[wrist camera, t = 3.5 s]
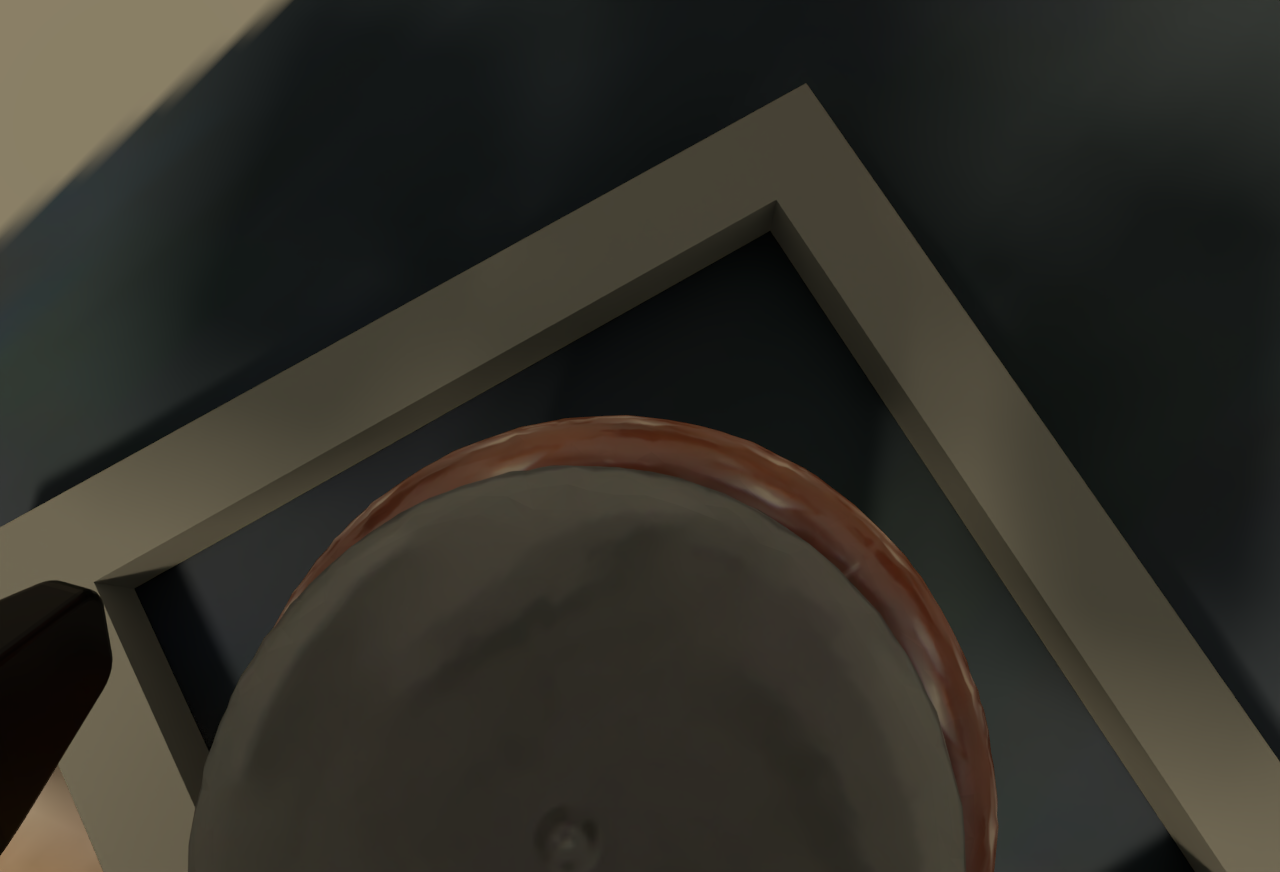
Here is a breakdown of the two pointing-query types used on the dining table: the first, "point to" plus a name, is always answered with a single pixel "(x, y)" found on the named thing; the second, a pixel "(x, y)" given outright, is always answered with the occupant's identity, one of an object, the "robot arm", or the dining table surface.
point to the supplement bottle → (604, 678)
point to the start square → (567, 310)
